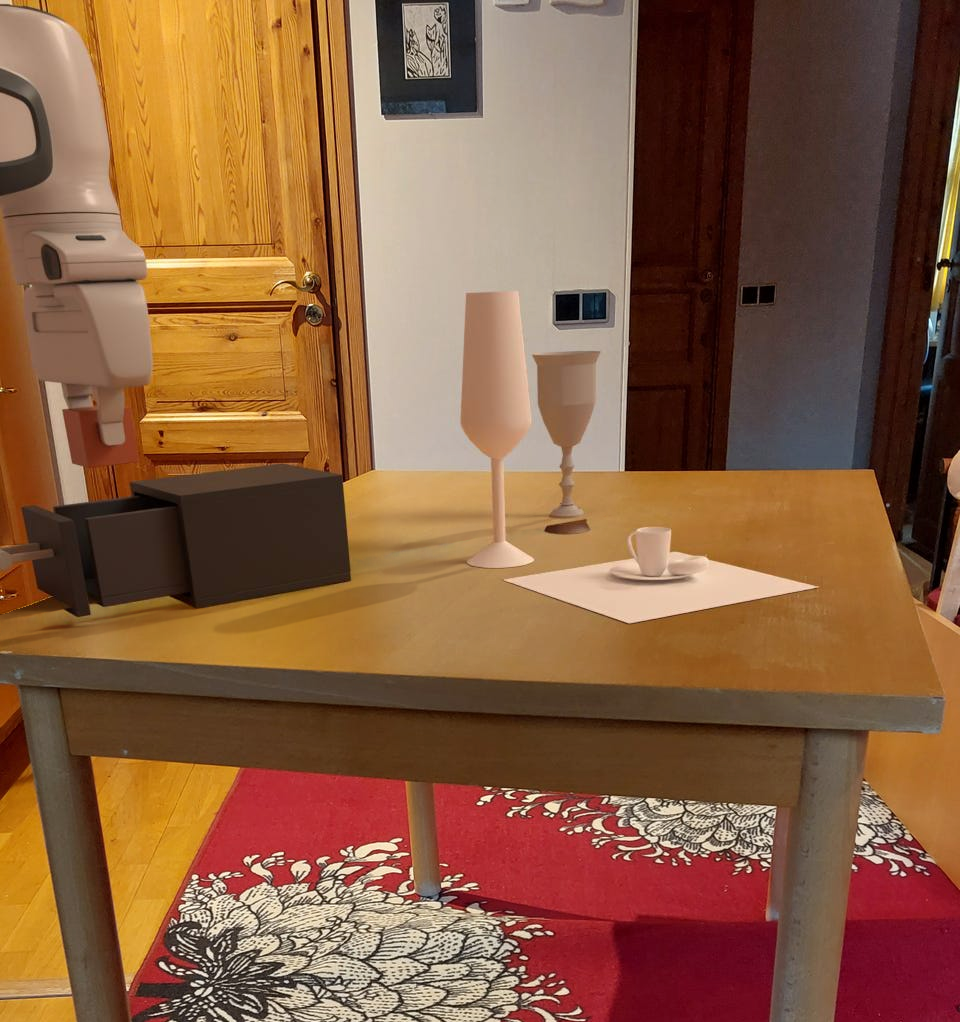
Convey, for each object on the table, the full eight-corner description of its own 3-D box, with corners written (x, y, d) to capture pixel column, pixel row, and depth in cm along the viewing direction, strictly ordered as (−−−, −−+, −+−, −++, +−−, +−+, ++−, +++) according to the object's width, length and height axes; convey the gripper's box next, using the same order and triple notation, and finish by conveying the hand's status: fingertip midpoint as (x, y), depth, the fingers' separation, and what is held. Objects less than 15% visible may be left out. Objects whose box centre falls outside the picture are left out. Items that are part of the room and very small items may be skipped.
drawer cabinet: (196, 608, 102) (179, 495, 98) (146, 586, 111) (129, 481, 107) (351, 580, 110) (342, 474, 106) (293, 561, 119) (282, 463, 115)
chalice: (580, 521, 133) (580, 350, 126) (611, 530, 128) (613, 351, 120) (523, 528, 131) (520, 354, 123) (552, 538, 125) (550, 355, 117)
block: (88, 468, 97) (78, 411, 95) (71, 463, 100) (61, 409, 98) (139, 462, 99) (130, 407, 97) (121, 458, 102) (112, 404, 100)
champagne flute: (541, 554, 118) (537, 290, 107) (523, 568, 112) (517, 290, 101) (478, 552, 119) (468, 293, 109) (457, 566, 114) (444, 294, 103)
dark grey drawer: (16, 628, 95) (-5, 530, 91) (-18, 605, 103) (-39, 514, 99) (237, 589, 105) (226, 499, 101) (190, 570, 113) (178, 487, 109)
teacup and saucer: (721, 578, 105) (723, 531, 103) (649, 590, 101) (650, 543, 100) (662, 562, 112) (663, 518, 110) (592, 573, 108) (592, 529, 107)
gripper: (-6, 265, 99) (28, 437, 105) (69, 253, 84) (104, 455, 90) (68, 263, 102) (97, 430, 108) (153, 251, 87) (182, 446, 93)
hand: (101, 442), depth 99 cm, fingers closed on block, 4 cm apart
